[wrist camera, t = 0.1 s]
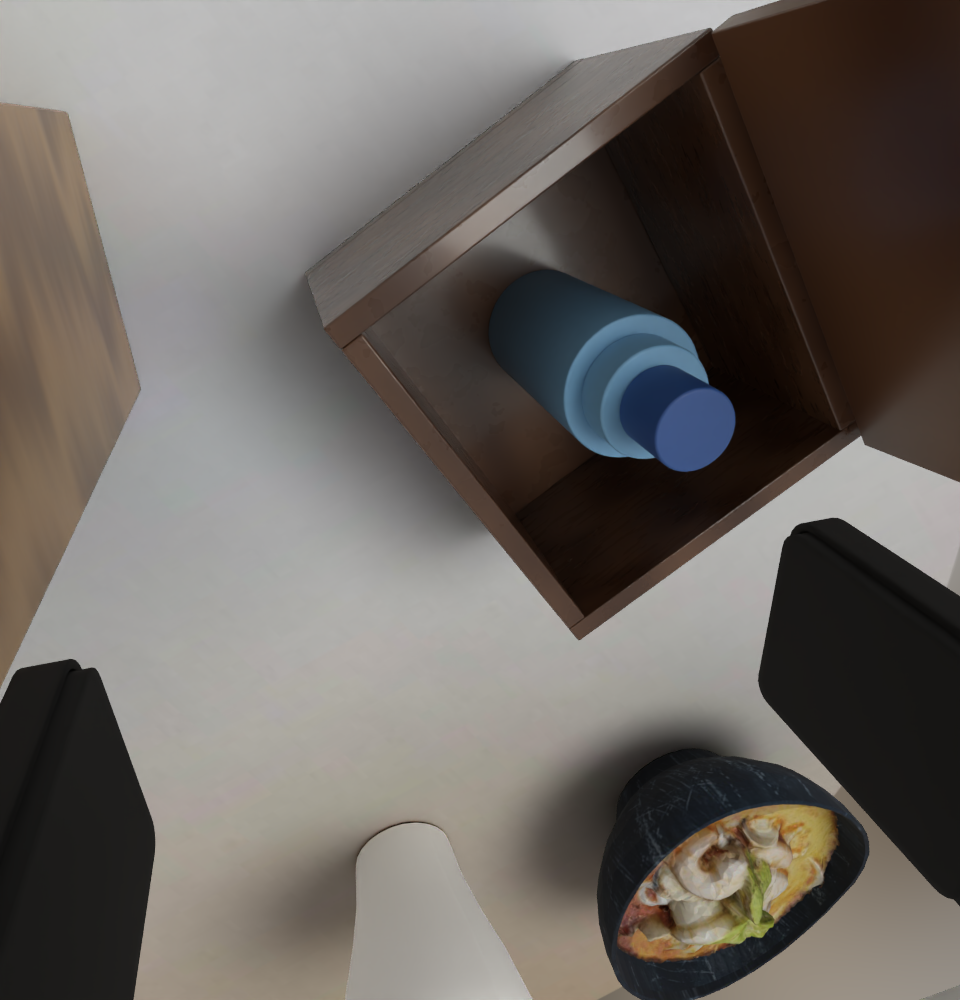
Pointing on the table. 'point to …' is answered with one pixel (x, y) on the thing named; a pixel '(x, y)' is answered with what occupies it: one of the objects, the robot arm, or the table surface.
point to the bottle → (610, 371)
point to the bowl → (718, 870)
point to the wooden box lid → (867, 196)
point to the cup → (423, 926)
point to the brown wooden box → (615, 269)
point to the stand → (51, 359)
